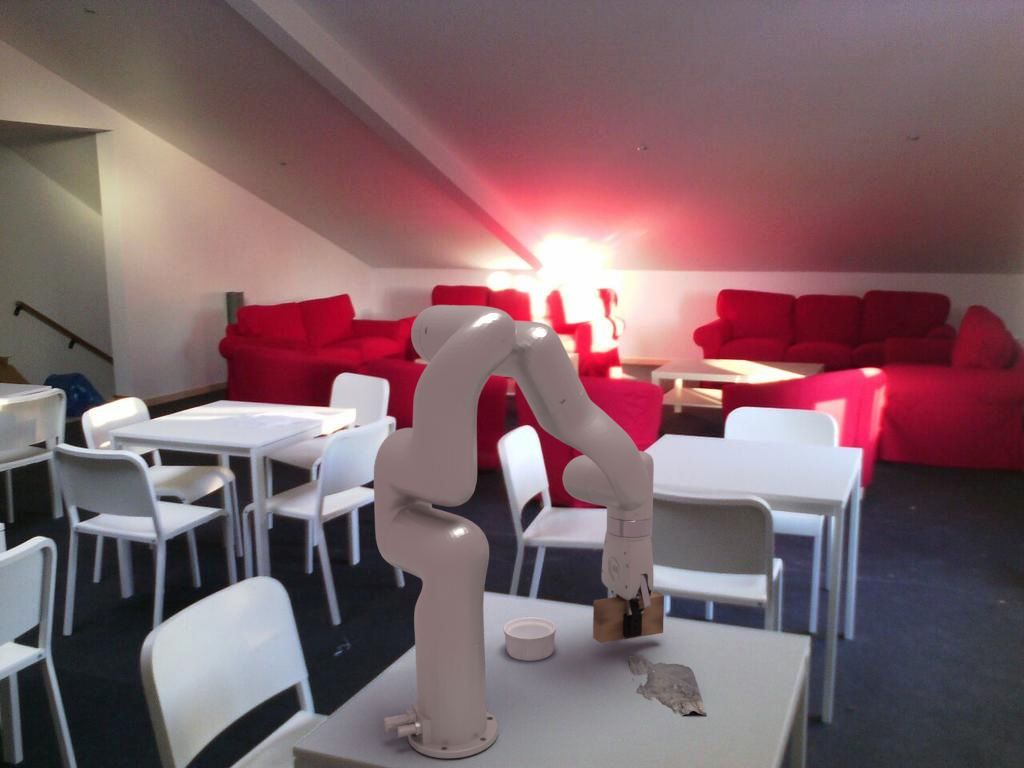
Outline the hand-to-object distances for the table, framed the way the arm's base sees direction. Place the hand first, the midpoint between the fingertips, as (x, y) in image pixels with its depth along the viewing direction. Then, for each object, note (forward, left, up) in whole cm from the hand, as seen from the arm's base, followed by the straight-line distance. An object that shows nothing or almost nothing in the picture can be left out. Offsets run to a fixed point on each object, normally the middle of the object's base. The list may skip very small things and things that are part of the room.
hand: (627, 631), depth 148 cm
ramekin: (-15, +6, -4) cm, 17 cm away
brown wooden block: (0, 0, -1) cm, 1 cm away
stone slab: (-1, -14, -4) cm, 14 cm away
